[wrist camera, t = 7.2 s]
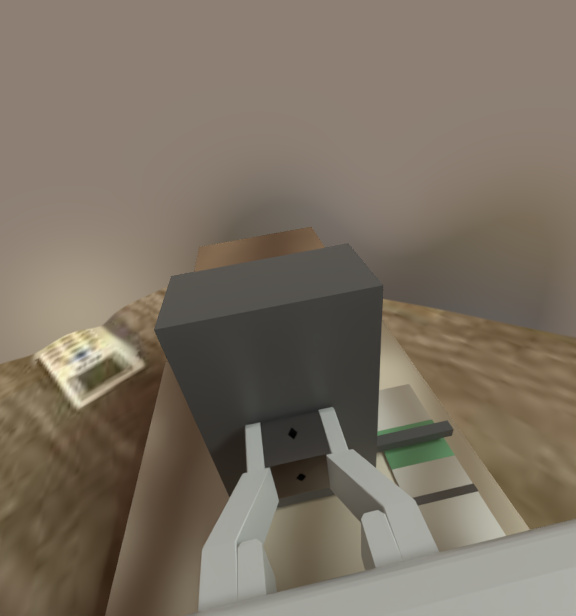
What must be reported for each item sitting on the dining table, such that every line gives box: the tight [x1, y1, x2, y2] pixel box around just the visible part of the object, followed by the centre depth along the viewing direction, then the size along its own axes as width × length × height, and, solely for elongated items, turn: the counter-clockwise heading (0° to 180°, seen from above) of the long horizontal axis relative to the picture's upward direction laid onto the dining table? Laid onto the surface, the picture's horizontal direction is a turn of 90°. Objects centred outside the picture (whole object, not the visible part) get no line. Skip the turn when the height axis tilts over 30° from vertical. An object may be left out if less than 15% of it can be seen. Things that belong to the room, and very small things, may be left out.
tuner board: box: [105, 227, 530, 616], centre depth 15 cm, size 16×17×10 cm
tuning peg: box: [154, 244, 454, 508], centre depth 16 cm, size 10×11×10 cm
